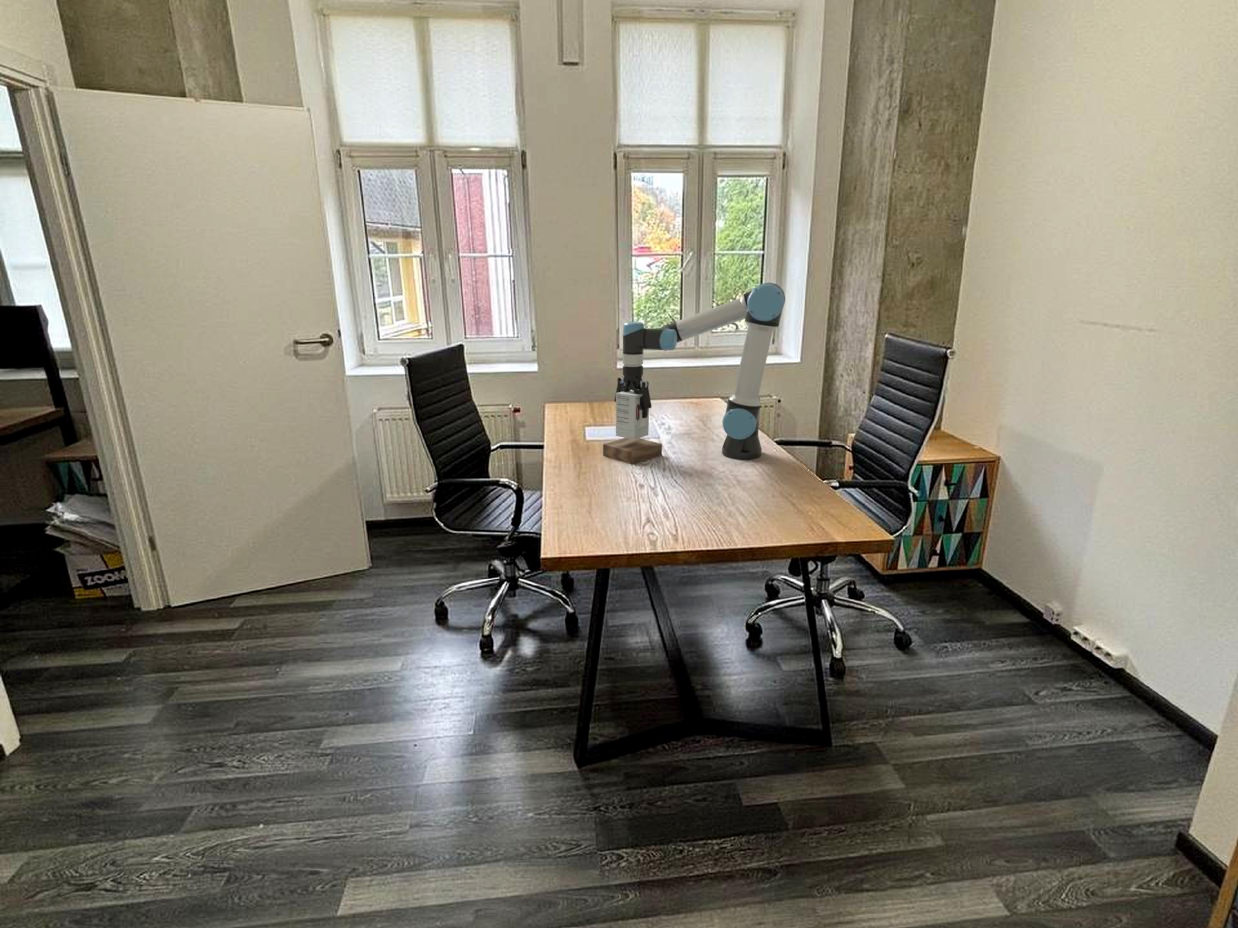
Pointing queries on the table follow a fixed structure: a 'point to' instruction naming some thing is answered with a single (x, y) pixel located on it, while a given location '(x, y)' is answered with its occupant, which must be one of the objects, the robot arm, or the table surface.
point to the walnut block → (632, 450)
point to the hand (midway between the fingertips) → (632, 423)
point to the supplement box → (629, 416)
